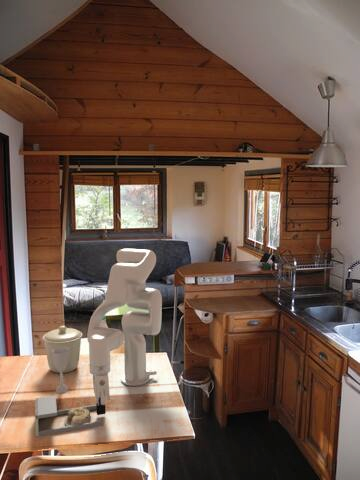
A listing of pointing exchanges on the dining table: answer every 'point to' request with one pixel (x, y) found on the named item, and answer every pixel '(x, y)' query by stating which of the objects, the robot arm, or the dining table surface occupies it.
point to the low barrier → (49, 408)
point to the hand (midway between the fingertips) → (101, 413)
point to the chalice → (61, 365)
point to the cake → (78, 416)
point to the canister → (63, 339)
